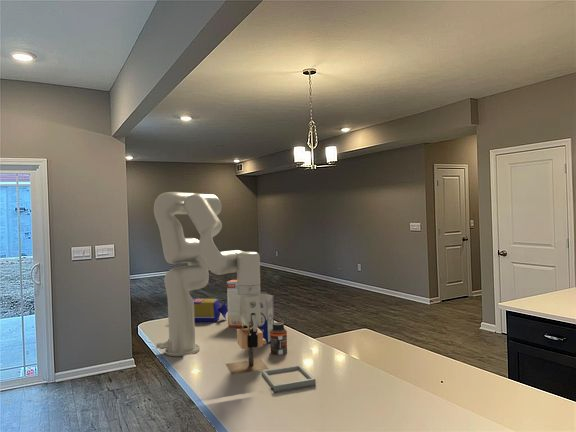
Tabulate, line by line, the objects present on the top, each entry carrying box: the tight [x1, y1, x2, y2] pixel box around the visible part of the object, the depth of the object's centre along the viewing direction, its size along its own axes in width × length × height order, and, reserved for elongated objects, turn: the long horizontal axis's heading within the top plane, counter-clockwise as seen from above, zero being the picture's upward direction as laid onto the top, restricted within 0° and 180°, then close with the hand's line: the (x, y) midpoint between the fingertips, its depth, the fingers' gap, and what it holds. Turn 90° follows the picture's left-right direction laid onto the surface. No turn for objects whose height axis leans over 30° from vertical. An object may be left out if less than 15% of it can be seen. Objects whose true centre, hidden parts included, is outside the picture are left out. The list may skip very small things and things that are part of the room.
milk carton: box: [251, 291, 275, 346], centre depth 164 cm, size 7×7×20 cm
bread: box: [192, 298, 228, 323], centre depth 204 cm, size 10×25×10 cm, turn 84°
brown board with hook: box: [225, 348, 270, 375], centre depth 135 cm, size 12×10×6 cm
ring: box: [236, 327, 267, 350], centre depth 136 cm, size 9×7×4 cm
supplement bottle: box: [269, 321, 288, 356], centre depth 148 cm, size 6×6×11 cm
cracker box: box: [226, 279, 242, 328], centre depth 190 cm, size 14×6×21 cm, turn 71°
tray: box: [261, 364, 317, 394], centre depth 124 cm, size 13×13×2 cm
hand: (249, 343), depth 136 cm, fingers closed on ring, 7 cm apart
